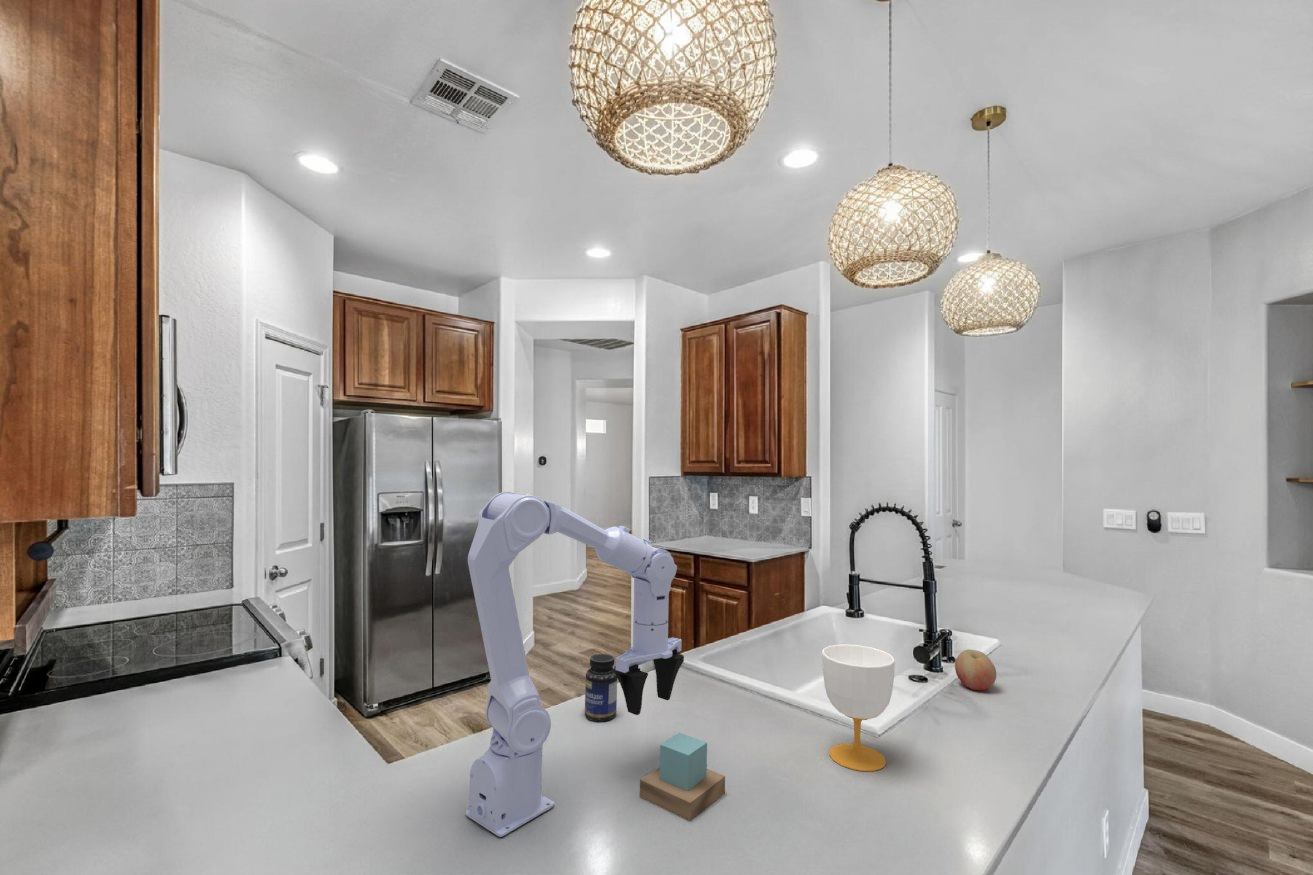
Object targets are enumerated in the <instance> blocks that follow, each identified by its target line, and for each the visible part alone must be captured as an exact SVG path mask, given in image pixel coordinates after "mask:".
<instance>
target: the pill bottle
mask: <svg viewBox="0 0 1313 875" xmlns="http://www.w3.org/2000/svg"><path fill="white" fill-rule="evenodd" d="M614 666H615V657H614V656H613V655H611V654H608V653H600V654H599V653H598V654H594V655H592V656H590V658H589V667H590V668H589V669H588V670H586V673H585V686H584V687H585V689H584V690H585V693H584V695H585V696H584V716H585V718H587V720H590V721H592V722H593V721H594V722H608V721H610V720H612V719H614V718H615V717H616V716H617V701H618V678H617V676H616V675H615V673H614Z"/></svg>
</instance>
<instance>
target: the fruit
mask: <svg viewBox="0 0 1313 875" xmlns="http://www.w3.org/2000/svg"><path fill="white" fill-rule="evenodd" d="M954 670H955V673H956V676H957V678H958V680H959V681H960V682H961V684H963V685H964V686H965V687H966V688H969V689H970V690H972V691H973V690H974V691H985V690H988V689H991V688H992V686H993V685H994V684H995V682H996V681H997V669H996V667H995V665H994V663H993V661H992V660H991V659H990V658H989V656H988V655H987V654H986V653H984V652H982V651H979V650H976V649H965V650H963V651H961V652H960V653H959V654H958V655H957V656H956V658H955V661H954Z"/></svg>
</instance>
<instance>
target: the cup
mask: <svg viewBox="0 0 1313 875" xmlns="http://www.w3.org/2000/svg"><path fill="white" fill-rule="evenodd" d="M821 653H822V654H821V655H822V656H821V657H822V658H821V659H822V660H821V661H822V674H823V683H824V689H825V692H826V693H825V694H826V696H827V698H828V699H829V701H830V703H831V706H833V707H834V709H835V710H837V711H838V712H839V713H840V714H841V715H844V716H845V717H847V718H849V719H852V720H853V730H854V734H853V743H840V744H836V745H833V746H832V747H831V748H830V749H829V757H830V758H831V759H832V760H833V762H835V763H836V764H838V765H839V766H841V767H844V768H846V769H849V770H853V771H859V772H876V771H878V770H882V769H883V768H884V767H885V766H886V765H887V762H886V761H887V760H886V757H885V756H884V755H883V754H881V753H880V752H879V751H878V750H876V749H874V748H872V747H869V746H866V745H862V744H861V727H862V721H868V720H872V719H875V718H878V717H879V716H880V715H881V714H882V713H884V711H885V710H886V709H887V707H888V706H889V705H890V702H891V698H892V695H893V687H894V683H895V682H894V680H895V668H896V666H895V664H896V661H895V658H894V656H893V655H891V654H890V653H889V652H887V651H884V650H881V649H878V648H875V647H871V646H866V645H859V644H845V643H844V644H833V645H832V644H831V645H828V646H826V647H824V648H822V652H821Z"/></svg>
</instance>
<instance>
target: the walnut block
mask: <svg viewBox="0 0 1313 875" xmlns="http://www.w3.org/2000/svg"><path fill="white" fill-rule="evenodd" d="M659 775H660V766H658V768H655V769H654V770H653V771H651V772H650V773H648V774H646V775H645V776H643V777H642V778H640V779H639V798H640V799H643V800H645V801H647V802H649V803H651V804H653V805H655V806H657V807H660V808H661V809H664V810H665V811H668V812H669V813H671V814H674V815H675V816H677V817H680V818H682V819H684V820H686V821H688V822H691V821H693V820H694V819H695V818H697V817H698V816H699V815H700V814H701V813H702V812H703V811H705V810H707V808H708V807H710V806H711V805H713V804H714V803H715V802H716V801H717V800H718V799H720V798H721V797H722V796H724V795H725V794H726V776H725V775H723V774H721V773H718V772H716V771H714V770H711V769H709V768H707V775H706V777H705V778H704V779H703V780H702V781H700V782H699V783H698V784H697V785H695V786H694V787H693V788H692V789H690V790H689V791H686V790H683V789H681V788H679V787H676V786H674V785H671V784H669V783H667V782H664V781H662V780H660V779H659Z"/></svg>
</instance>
